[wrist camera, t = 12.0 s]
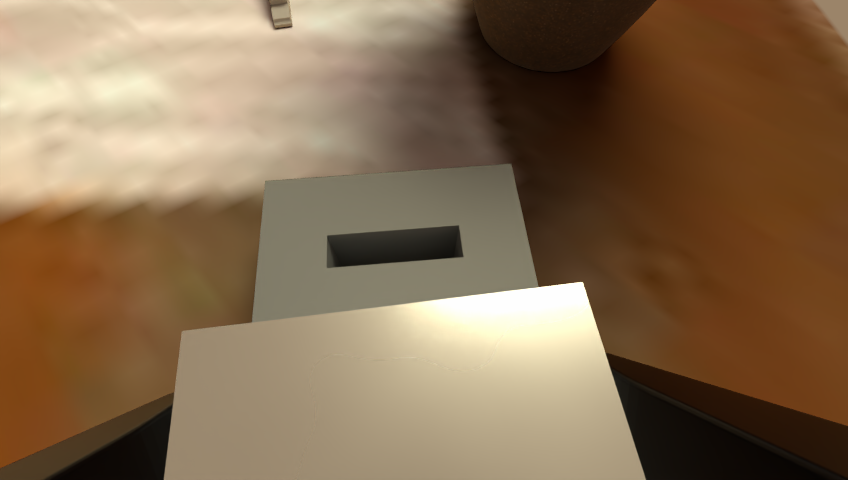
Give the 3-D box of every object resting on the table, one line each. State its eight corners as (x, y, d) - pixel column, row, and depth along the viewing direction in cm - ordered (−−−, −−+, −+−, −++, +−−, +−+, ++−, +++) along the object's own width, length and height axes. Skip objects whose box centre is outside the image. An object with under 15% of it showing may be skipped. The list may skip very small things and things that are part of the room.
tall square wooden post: (464, 505, 14) (776, 890, 2) (372, 520, 13) (92, 1063, 2) (449, 408, 15) (583, 282, 3) (366, 420, 15) (182, 331, 3)
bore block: (564, 574, 13) (611, 617, 10) (270, 607, 12) (219, 664, 9) (496, 210, 18) (511, 163, 15) (292, 226, 18) (265, 181, 15)
